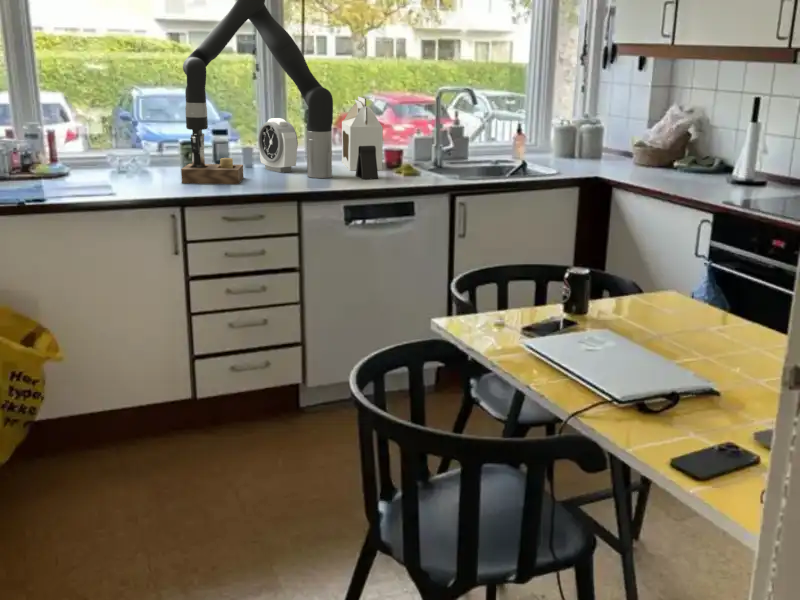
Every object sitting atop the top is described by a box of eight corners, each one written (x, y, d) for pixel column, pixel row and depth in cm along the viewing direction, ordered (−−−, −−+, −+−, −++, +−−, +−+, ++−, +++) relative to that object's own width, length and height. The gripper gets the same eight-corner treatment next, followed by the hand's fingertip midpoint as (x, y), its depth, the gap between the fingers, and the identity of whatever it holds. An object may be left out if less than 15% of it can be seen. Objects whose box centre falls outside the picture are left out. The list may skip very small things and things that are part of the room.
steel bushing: (205, 166, 313) (204, 144, 310) (203, 168, 308) (202, 145, 306) (193, 166, 312) (192, 143, 310) (191, 167, 308) (190, 145, 306)
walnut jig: (243, 177, 319) (242, 156, 317) (238, 184, 306) (237, 161, 304) (189, 177, 318) (188, 155, 316) (181, 183, 305) (180, 160, 303)
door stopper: (355, 176, 329) (355, 144, 326) (370, 175, 331) (370, 144, 328) (363, 179, 321) (363, 147, 318) (378, 179, 323) (378, 147, 320)
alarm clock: (256, 168, 343) (255, 117, 338) (274, 166, 349) (273, 116, 343) (282, 173, 331) (281, 120, 325) (300, 172, 336) (299, 119, 330)
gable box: (341, 163, 363) (341, 95, 355) (372, 163, 366) (373, 95, 358) (349, 171, 342) (350, 99, 334) (382, 170, 345) (383, 99, 337)
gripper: (203, 117, 299) (205, 166, 304) (210, 114, 312) (212, 161, 317) (181, 117, 298) (184, 166, 303) (189, 113, 312) (192, 160, 317)
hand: (198, 163), depth 310 cm, fingers closed on steel bushing, 4 cm apart
